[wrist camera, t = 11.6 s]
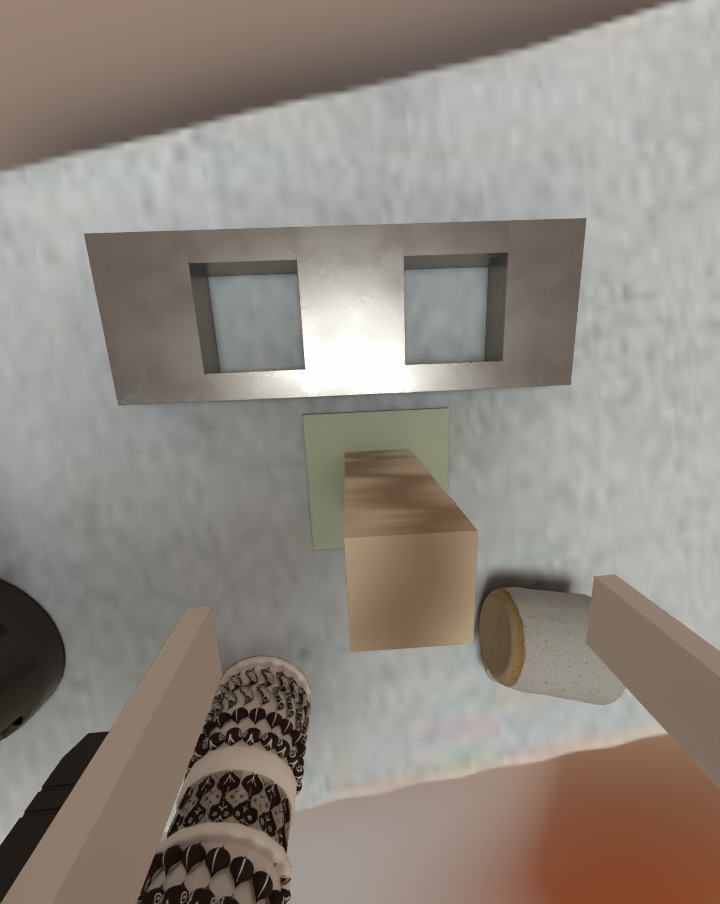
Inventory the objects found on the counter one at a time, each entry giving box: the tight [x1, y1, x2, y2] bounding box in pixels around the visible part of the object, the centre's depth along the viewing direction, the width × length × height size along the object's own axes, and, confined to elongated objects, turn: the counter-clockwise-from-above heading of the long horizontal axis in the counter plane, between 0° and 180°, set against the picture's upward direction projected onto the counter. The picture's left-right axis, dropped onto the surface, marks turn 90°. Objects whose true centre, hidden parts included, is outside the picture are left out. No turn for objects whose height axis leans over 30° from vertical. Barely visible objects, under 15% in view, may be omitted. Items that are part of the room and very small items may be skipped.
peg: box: [344, 449, 478, 652], centre depth 20 cm, size 5×5×14 cm
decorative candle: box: [136, 656, 311, 904], centre depth 20 cm, size 9×9×25 cm
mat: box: [302, 408, 450, 550], centre depth 27 cm, size 11×11×1 cm
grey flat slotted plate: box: [84, 218, 586, 405], centre depth 23 cm, size 30×10×3 cm, turn 92°
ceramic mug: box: [479, 587, 626, 705], centre depth 28 cm, size 11×8×8 cm
